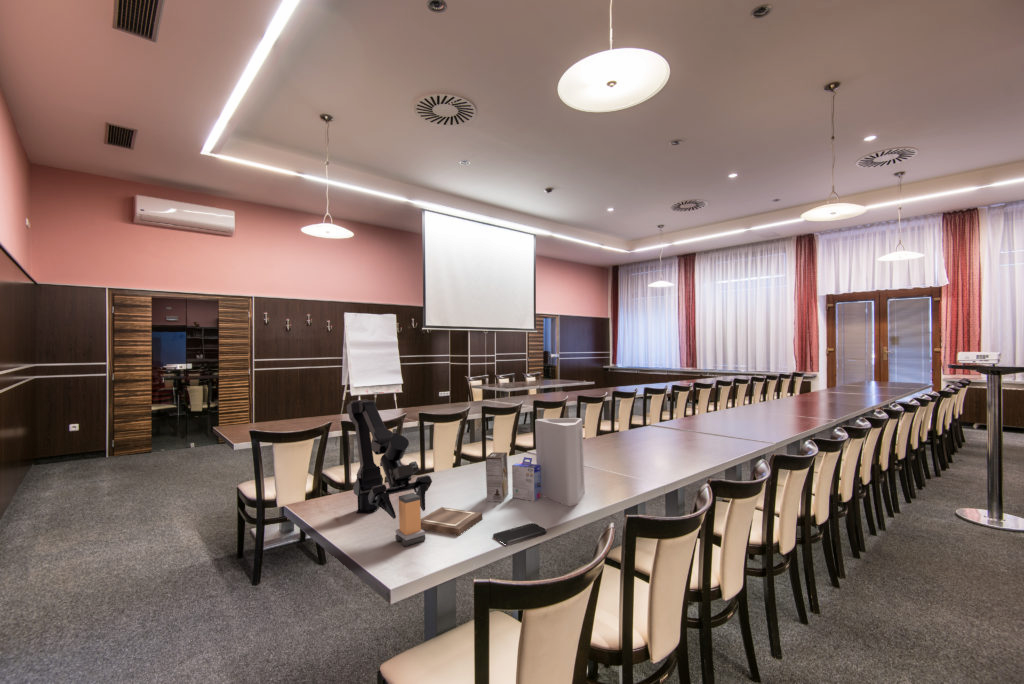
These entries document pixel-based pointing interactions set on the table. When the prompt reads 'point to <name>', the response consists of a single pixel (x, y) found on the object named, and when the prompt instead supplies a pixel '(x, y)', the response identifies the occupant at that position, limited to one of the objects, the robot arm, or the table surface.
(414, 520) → the grey-topped tan box
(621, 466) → the table surface
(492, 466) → the coffee box
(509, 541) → the phone
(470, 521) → the dock
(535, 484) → the ink cartridge box
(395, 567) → the table surface
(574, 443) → the white triangular vase
